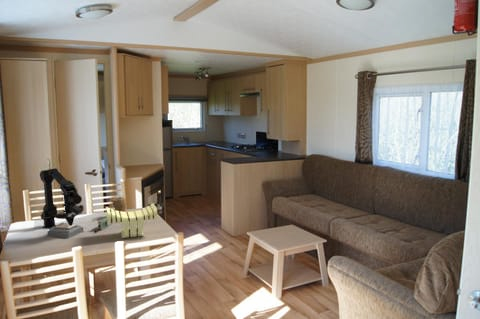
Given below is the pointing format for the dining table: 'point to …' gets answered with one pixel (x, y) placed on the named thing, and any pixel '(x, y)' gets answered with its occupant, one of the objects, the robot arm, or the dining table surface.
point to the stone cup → (120, 205)
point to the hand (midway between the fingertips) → (71, 225)
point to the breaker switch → (64, 225)
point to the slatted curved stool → (132, 220)
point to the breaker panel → (65, 231)
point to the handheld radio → (103, 224)
